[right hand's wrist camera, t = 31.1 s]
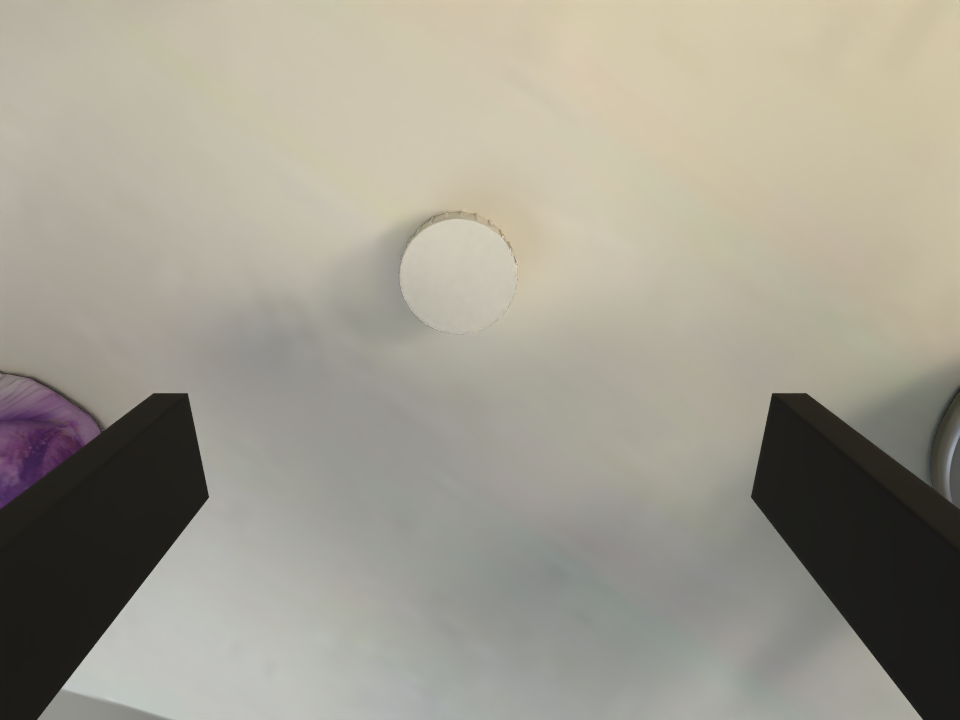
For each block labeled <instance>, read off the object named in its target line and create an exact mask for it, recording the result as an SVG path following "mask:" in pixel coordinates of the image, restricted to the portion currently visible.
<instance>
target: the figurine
mask: <svg viewBox="0 0 960 720" xmlns="http://www.w3.org/2000/svg"><path fill="white" fill-rule="evenodd" d="M100 433H101V431H100V429H99V427H98V425H97V423H96V421H95V420H94V419H93V418H92V417H91V416H90V415H89V414H88V413H86V412H84V411H82V410H81V409H79V408H78V407H77V406H75V405H74V404H72V403H71V402H69V401H68V400H66V399H65V398H63V397H62V396H60V395H59V394H57V393H56V392H54V391H53V390H51V389H49V388H48V387H46V386H44V385H42V384H40V383H38V382H36V381H34V380H33V379H32V378H26V377H21V376H16V375H10V374H1V373H0V509H1V508H2V507H4V506H5V505H6V504H8V503H9V502H10V501H12V500H13V499H14V498H16V497H17V496H18V495H20V494H21V493H22V492H24V491H25V490H26V489H28V488H29V487H30V486H32V485H33V484H34V483H36V482H37V481H38V480H40V479H41V478H42V477H43V476H45V475H46V474H47V473H49V472H50V471H51V470H53V469H54V468H55V467H57V466H58V465H59V464H61V463H62V462H63V461H65V460H66V459H67V458H69V457H70V456H71V455H73V454H74V453H75V452H77V451H78V450H79V449H81V448H82V447H83V446H85V445H86V444H87V443H89V442H90V441H91V440H93V439H94V438H95V437H96V436H98V435H99V434H100Z"/></svg>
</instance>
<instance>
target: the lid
mask: <svg viewBox="0 0 960 720" xmlns="http://www.w3.org/2000/svg"><path fill="white" fill-rule="evenodd" d="M407 245H408V247H407V249H406V250H405V251H404V253H403V255H402V257H401V259H402V261H401V266H400V271H399V274H400V286H401V291H402V294H403V297H404V299H405V301H406V303H407V305H408V306H409V308H410V310H411V311H412V312H413V313H414V314H415V316H416V317H417V318H419V319H420V320H421V321H422V322H423V323H425V324H426V325H428V326H430V327H432V328H433V329H436V330H438V331H441V332H445V333H450V334H467V333H473V332H476V331H479V330H482V329H484V328H486V327H488V326H490V325H491V324H493V323H494V322H495V321H497V320H498V319H499V318H500V317H501V316H502V315H503V314H504V312H505V311H506V310H507V308H508V307H509V305H510V303H511V301H512V299H513V297H514V294H515V290H516V285H517V281H518V277H517V269H516V265H517V262H516V260H515V257H514V256H513V255H512V252H511V251H513V250H512V247H511V245H510V243H509V242H507V241H506V239H505V237H504V235H503V232H502V230H500V231H499V230H498V229H497V228H496V227H495V226H494V225H493V224H492V223H491V221H490V220H489V221H487V220H486V219H484V218H482V217H480V216H478V214H476V213H475V215H474V214H470V213H464V212H463V211H460V212H453V213H448V212H445V214H443V215H440V216H437V217H435V218H434V217H431V220H430V221H428V222H426V223H425V224H424V225H423V226H421V225H420V226H419V228H418V230H417V232H416V233H415V235H414V236H413V237H411V238H410V239H409V241H408V243H407Z"/></svg>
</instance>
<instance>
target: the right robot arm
mask: <svg viewBox="0 0 960 720" xmlns="http://www.w3.org/2000/svg"><path fill="white" fill-rule="evenodd" d="M931 478H932V484H933V488H934V489H932V488H931V487H930V486H928V485H927V484H926V483H924V482H923V481H922V480H920V479H919V478H918V477H917V476H915V475H914V474H913V473H911V472H910V471H909V470H907V469H906V468H905V467H903V466H902V465H901V464H899V463H898V462H897V461H895V460H894V459H893V458H891V457H890V456H889V455H887V454H886V453H885V452H883V451H882V450H881V449H879V448H878V447H877V446H875V445H874V444H873V443H871V442H870V441H869V440H867V439H866V438H865V437H864V436H862V435H861V434H860V433H858V432H857V431H856V430H854V429H853V428H852V427H850V426H849V425H848V424H846V423H845V422H844V421H842V420H841V419H840V418H838V417H837V416H836V415H834V414H833V413H832V412H830V411H829V410H828V409H826V408H825V407H824V406H822V405H821V404H820V403H818V402H817V401H816V400H814V399H813V398H812V397H811V396H809V395H808V394H807V393H772V397H771V402H770V407H769V412H768V417H767V422H766V426H765V431H764V436H763V441H762V446H761V451H760V456H759V461H758V465H757V470H756V475H755V480H754V485H753V490H752V495H751V498H752V499H753V501H754V502H755V503H756V504H757V506H758V507H759V508H760V510H761V511H762V512H763V513H764V515H765V516H766V517H767V519H768V520H769V521H770V523H771V524H772V525H773V526H774V528H775V529H776V530H777V532H778V533H779V534H780V535H781V537H782V538H783V539H784V541H785V542H786V543H787V544H788V546H789V547H790V548H791V550H792V551H793V552H794V554H795V555H796V556H797V557H798V559H799V560H800V561H801V563H802V564H803V565H804V566H805V568H806V569H807V570H808V572H809V573H810V574H811V576H812V577H813V578H814V579H815V581H816V582H817V583H818V585H819V586H820V587H821V588H822V590H823V591H824V592H825V594H826V595H827V596H828V597H829V599H830V600H831V601H832V603H833V604H834V605H835V607H836V608H837V609H838V610H839V612H840V613H841V614H842V616H843V617H844V618H845V619H846V621H847V622H848V623H849V625H850V626H851V627H852V629H853V630H854V631H855V632H856V634H857V635H858V636H859V638H860V639H861V640H862V641H863V643H864V644H865V645H866V647H867V648H868V649H869V650H870V652H871V653H872V654H873V656H874V657H875V658H876V660H877V661H878V662H879V663H880V665H881V666H882V667H883V669H884V670H885V671H886V672H887V674H888V675H889V676H890V678H891V679H892V680H893V681H894V683H895V684H896V685H897V687H898V688H899V689H900V691H901V692H902V693H903V694H904V696H905V697H906V698H907V700H908V701H909V702H910V703H911V705H912V706H913V707H914V709H915V710H916V711H917V713H918V714H919V715H920V716H921V718H922V719H923V720H960V391H959V393H958V394H957V395H956V397H955V398H954V400H953V401H952V403H951V405H950V406H949V408H948V410H947V411H946V413H945V415H944V417H943V419H942V421H941V424H940V426H939V428H938V431H937V434H936V437H935V440H934V444H933V449H932V454H931ZM208 498H209V495H208V490H207V485H206V480H205V475H204V470H203V465H202V461H201V456H200V451H199V446H198V441H197V436H196V431H195V426H194V422H193V417H192V412H191V407H190V402H189V397H188V393H153V394H152V395H151V396H149V397H148V398H147V399H146V400H144V401H143V402H142V403H140V404H139V405H138V406H136V407H135V408H134V409H132V410H131V411H130V412H128V413H127V414H126V415H124V416H123V417H122V418H120V419H119V420H118V421H116V422H115V423H114V424H112V425H111V426H110V427H108V428H107V429H106V430H104V431H103V432H102V433H100V434H99V435H98V436H96V437H95V438H94V439H93V440H91V441H90V442H89V443H87V444H86V445H85V446H83V447H82V448H81V449H79V450H78V451H77V452H75V453H74V454H73V455H71V456H70V457H69V458H67V459H66V460H65V461H63V462H62V463H61V464H59V465H58V466H57V467H55V468H54V469H53V470H51V471H50V472H49V473H47V474H46V475H45V476H43V477H42V478H41V479H40V480H38V481H37V482H36V483H34V484H33V485H32V486H30V487H29V488H28V489H26V490H25V491H24V492H22V493H21V494H20V495H18V496H17V497H16V498H14V499H13V500H12V501H10V502H9V503H8V504H6V505H5V506H4V507H2V508H1V509H0V720H37V719H38V718H39V716H40V715H41V714H42V713H43V711H44V710H45V709H46V707H47V706H48V705H49V703H50V702H51V701H52V700H53V698H54V697H55V696H56V694H57V693H58V692H59V691H60V689H61V688H62V687H63V685H64V684H65V683H66V681H67V680H68V679H69V678H70V676H71V675H72V674H73V672H74V671H75V670H76V669H77V667H78V666H79V665H80V663H81V662H82V661H83V660H84V658H85V657H86V656H87V654H88V653H89V652H90V650H91V649H92V648H93V647H94V645H95V644H96V643H97V641H98V640H99V639H100V638H101V636H102V635H103V634H104V632H105V631H106V630H107V629H108V627H109V626H110V625H111V623H112V622H113V621H114V619H115V618H116V617H117V616H118V614H119V613H120V612H121V610H122V609H123V608H124V607H125V605H126V604H127V603H128V601H129V600H130V599H131V597H132V596H133V595H134V594H135V592H136V591H137V590H138V588H139V587H140V586H141V585H142V583H143V582H144V581H145V579H146V578H147V577H148V576H149V574H150V573H151V572H152V570H153V569H154V568H155V566H156V565H157V564H158V563H159V561H160V560H161V559H162V557H163V556H164V555H165V554H166V552H167V551H168V550H169V548H170V547H171V546H172V544H173V543H174V542H175V541H176V539H177V538H178V537H179V535H180V534H181V533H182V532H183V530H184V529H185V528H186V526H187V525H188V524H189V523H190V521H191V520H192V519H193V517H194V516H195V515H196V513H197V512H198V511H199V510H200V508H201V507H202V506H203V504H204V503H205V502H206V501H207V499H208Z"/></svg>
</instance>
